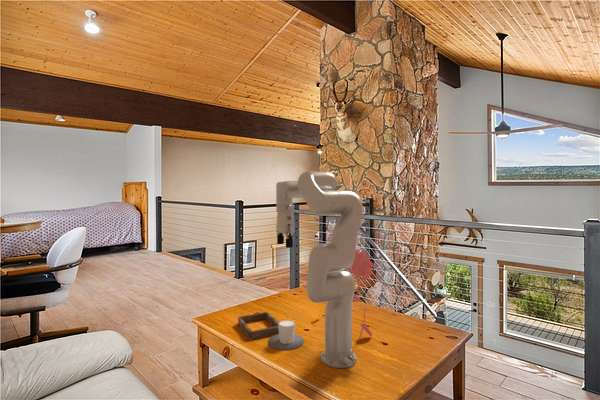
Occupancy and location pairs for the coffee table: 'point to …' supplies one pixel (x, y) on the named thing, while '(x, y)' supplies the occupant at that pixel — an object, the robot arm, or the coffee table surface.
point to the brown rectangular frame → (262, 332)
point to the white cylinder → (286, 331)
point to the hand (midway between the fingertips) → (284, 245)
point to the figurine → (363, 269)
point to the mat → (276, 344)
